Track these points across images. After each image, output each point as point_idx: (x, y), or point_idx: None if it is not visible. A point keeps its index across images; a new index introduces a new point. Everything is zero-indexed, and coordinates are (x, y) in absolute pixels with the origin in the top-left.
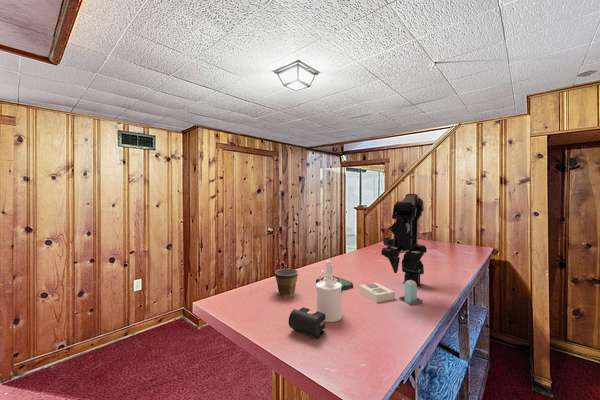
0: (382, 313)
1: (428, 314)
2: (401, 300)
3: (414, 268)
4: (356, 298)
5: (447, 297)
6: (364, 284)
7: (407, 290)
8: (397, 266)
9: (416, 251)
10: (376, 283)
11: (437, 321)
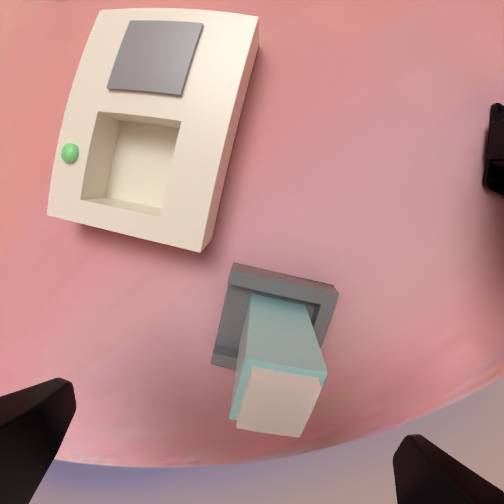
0: (41, 305)
1: (214, 433)
2: (229, 284)
3: (403, 480)
4: (54, 91)
5: (471, 373)
6: (140, 8)
7: (240, 356)
8: (14, 494)
9: None
10: (238, 29)
11: (190, 466)
